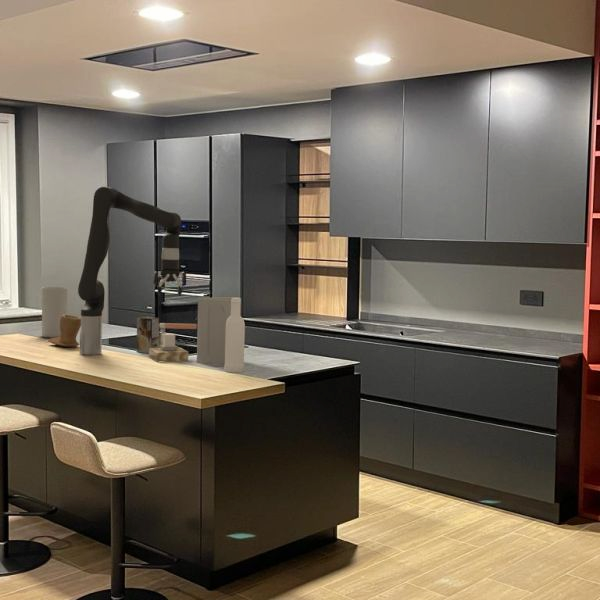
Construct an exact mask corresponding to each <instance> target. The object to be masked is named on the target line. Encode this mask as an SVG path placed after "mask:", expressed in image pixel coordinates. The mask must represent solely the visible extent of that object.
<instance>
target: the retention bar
mask: <svg viewBox="0 0 600 600" xmlns="http://www.w3.org/2000/svg"><path fill="white" fill-rule="evenodd" d="M197 326H198V323H169V322H168V323H167V322H160V329H161V328H165V329H181V330H182V329H183V330H184V329H185V330H187V329H190V330H197Z"/></svg>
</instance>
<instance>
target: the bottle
mask: <svg viewBox="0 0 600 600" xmlns="http://www.w3.org/2000/svg"><path fill="white" fill-rule="evenodd" d="M240 298H241V297H238V298H232V299H231V316H230V317H229V318H228V319H227V321H226V337H225V366H224V372H225V373H226V372H227V373H233V374H234V373H243V372H244V371H245V335H246V334H245V331H246V327H245V326H246V322H245V320H244V318H243V317H242V315H241V316H240V303H241V304H242V300H241V301H240Z"/></svg>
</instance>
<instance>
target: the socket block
mask: <svg viewBox="0 0 600 600" xmlns="http://www.w3.org/2000/svg"><path fill="white" fill-rule="evenodd" d="M148 357H149V358H150V359H151V360H152V361H154V360H155V361H154V362H156V361H157V362H156V363H159V361H163V362H188V361H189V351H188V350H186V349H184V348H182V347H179V346H178V350H175V351H163V350H162V349H160V348H149V353H148ZM163 362H162V363H163Z"/></svg>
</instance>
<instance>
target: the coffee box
mask: <svg viewBox="0 0 600 600" xmlns="http://www.w3.org/2000/svg"><path fill="white" fill-rule="evenodd" d="M160 318H161V317H151V316H141V317H140V316H139V317H137V318H136V353H142V354H143V353H144V354H149V348H160V337H161V328H160V323H161V319H160Z"/></svg>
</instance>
